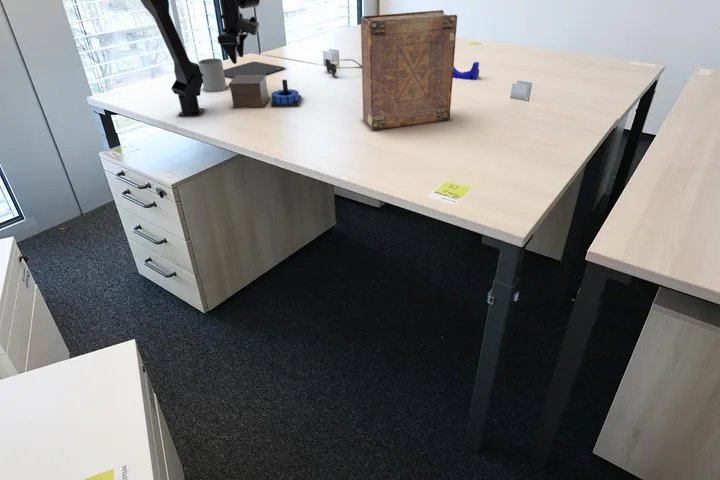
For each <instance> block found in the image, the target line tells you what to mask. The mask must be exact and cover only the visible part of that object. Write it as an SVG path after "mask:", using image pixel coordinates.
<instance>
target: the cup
mask: <svg viewBox="0 0 720 480" xmlns="http://www.w3.org/2000/svg"><path fill="white" fill-rule="evenodd" d="M198 65H199V67H200V71H201V73H202V74H203V76H202V78H203V83H202V85H203V90H204V91H205V92H209V93H211V92H214V93H215V92H222V91H225V90H226V89H227V82H226V76H224V70H225V69H224V65H223V60H222V59H221V58H205V59H201V60H199V61H198Z"/></svg>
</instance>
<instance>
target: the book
mask: <svg viewBox="0 0 720 480" xmlns="http://www.w3.org/2000/svg"><path fill="white" fill-rule="evenodd" d="M457 27H458V15H457V14H445V12H444V10H443V9H439V10H426V11H414V12H412V11H411V12H400V13H388V14H375V15H362V16H361V17H360V42H361V43H360V44H361V46H360V47H361V48H360V49H361V66H362V68H361V83H362V85H361V86H362V88H361V89H362V120H363V121H364V122H365V124H366V125H367V126H368V127H369V128H370V129H371V130H372V131H377V130H385V129H393V128H400V127H407V126H415V125H423V124H431V123H432V124H433V123H439V122H446V121H450V117H451V105H452V92H453V80H454V78H453V67H455V66H454V64H455V53H456V50H455V49H456V40H457Z"/></svg>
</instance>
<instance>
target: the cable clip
mask: <svg viewBox="0 0 720 480" xmlns="http://www.w3.org/2000/svg"><path fill="white" fill-rule="evenodd" d="M479 68H480V62H479V61H474V62H473V63H472V67H471V68H470V69H469V70H468V71H463V72H462V71H459V70H458V69H456V67H455V66H454V67H453V79H461V80H470V81H476V80H477V79H479V76H480V69H479Z"/></svg>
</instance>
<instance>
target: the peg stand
mask: <svg viewBox="0 0 720 480" xmlns="http://www.w3.org/2000/svg"><path fill="white" fill-rule="evenodd" d="M281 82H282V90H283V92H284V95H288V89H289V88H288V87H289V86H288V79H282V80H281ZM301 101H302V94H299V100H298V101H296V102H293V103H288V104H282V103H281V104H279V103H274V102H273V101H271V107H272V108H291V107H294V108H295V107H296V108H297V107H299V105H300V102H301Z"/></svg>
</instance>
